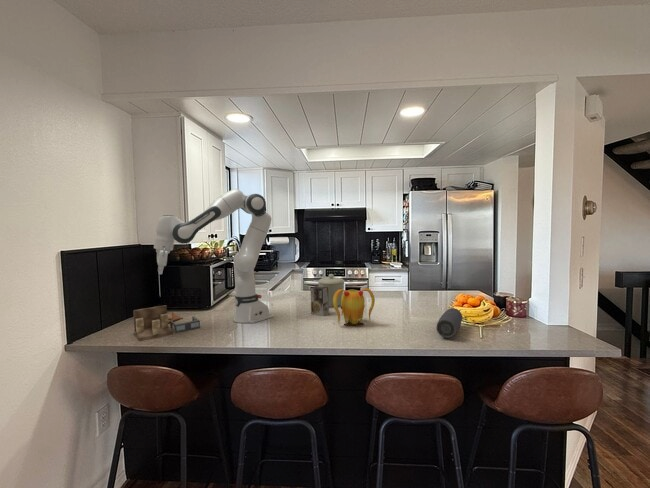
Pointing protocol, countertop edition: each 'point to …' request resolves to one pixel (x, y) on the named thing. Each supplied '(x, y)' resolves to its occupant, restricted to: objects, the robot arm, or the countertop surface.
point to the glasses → (186, 325)
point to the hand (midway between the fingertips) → (159, 272)
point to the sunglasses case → (173, 317)
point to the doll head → (352, 306)
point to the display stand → (151, 323)
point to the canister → (332, 287)
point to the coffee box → (319, 300)
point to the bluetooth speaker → (449, 323)
